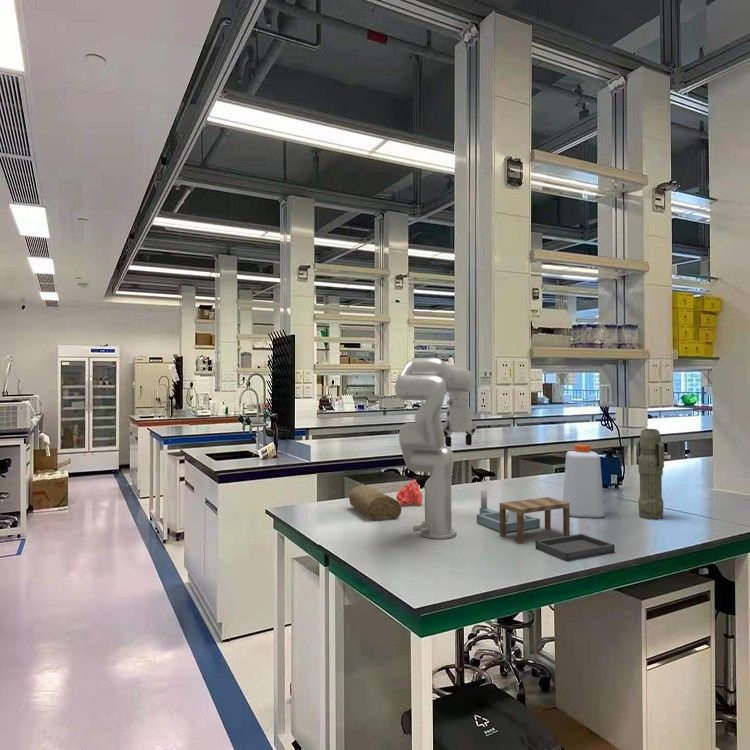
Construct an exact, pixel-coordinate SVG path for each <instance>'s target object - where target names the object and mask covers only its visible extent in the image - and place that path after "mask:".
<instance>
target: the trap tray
mask: <svg viewBox="0 0 750 750" xmlns="http://www.w3.org/2000/svg"><path fill="white" fill-rule="evenodd" d="M534 542H535V550H538V551H541V552H543V553H546V554H548V555H550V556H553V557H555V558H558V559H560V560H563V561H565V562H570V561H576V560H581V559H586V558H591V557H597V555H598V556H603V555H607V553H608V554H614V553H615V544H614V543H611V542H608V541H604V540H601V539H598V538H595V537H592V536H590V535H586V534H583V533H578V534H572V535H570V536H565V535H564V536H560V537H553V538H548V539H541V540H536V541H534ZM602 554H603V555H602Z"/></svg>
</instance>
